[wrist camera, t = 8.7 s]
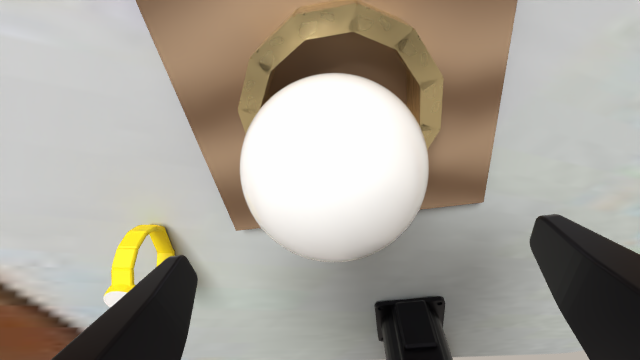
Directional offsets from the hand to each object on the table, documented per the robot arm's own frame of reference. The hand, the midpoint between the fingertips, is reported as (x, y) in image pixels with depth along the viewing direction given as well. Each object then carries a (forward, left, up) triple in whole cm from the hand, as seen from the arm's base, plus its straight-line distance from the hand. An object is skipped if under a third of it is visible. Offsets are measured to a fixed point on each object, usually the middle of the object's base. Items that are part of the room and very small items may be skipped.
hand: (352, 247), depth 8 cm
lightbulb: (0, 0, -12) cm, 12 cm away
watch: (-10, +16, -13) cm, 23 cm away
